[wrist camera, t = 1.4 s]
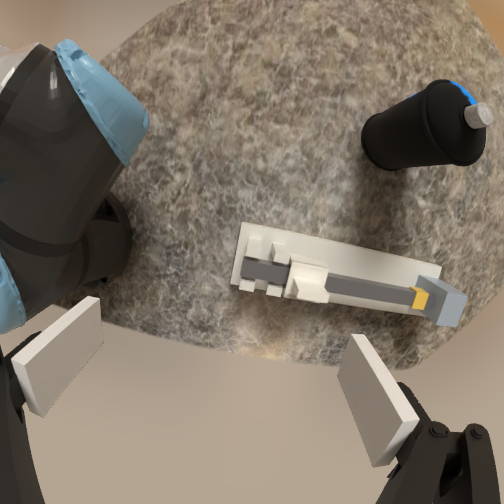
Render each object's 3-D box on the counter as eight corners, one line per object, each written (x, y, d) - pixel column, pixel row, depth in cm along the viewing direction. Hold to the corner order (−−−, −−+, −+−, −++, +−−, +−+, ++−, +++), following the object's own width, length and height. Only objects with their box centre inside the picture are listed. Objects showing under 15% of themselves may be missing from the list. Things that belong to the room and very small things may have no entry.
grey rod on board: (231, 280, 39) (223, 307, 30) (242, 221, 37) (237, 232, 28) (421, 313, 39) (451, 339, 31) (437, 265, 38) (472, 282, 29)
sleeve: (281, 285, 35) (287, 312, 27) (288, 252, 34) (297, 272, 26) (313, 291, 35) (327, 319, 27) (321, 259, 34) (339, 280, 26)
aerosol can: (401, 181, 35) (505, 185, 16) (352, 152, 35) (438, 125, 15) (419, 132, 34) (518, 107, 14) (372, 102, 33) (456, 47, 14)
